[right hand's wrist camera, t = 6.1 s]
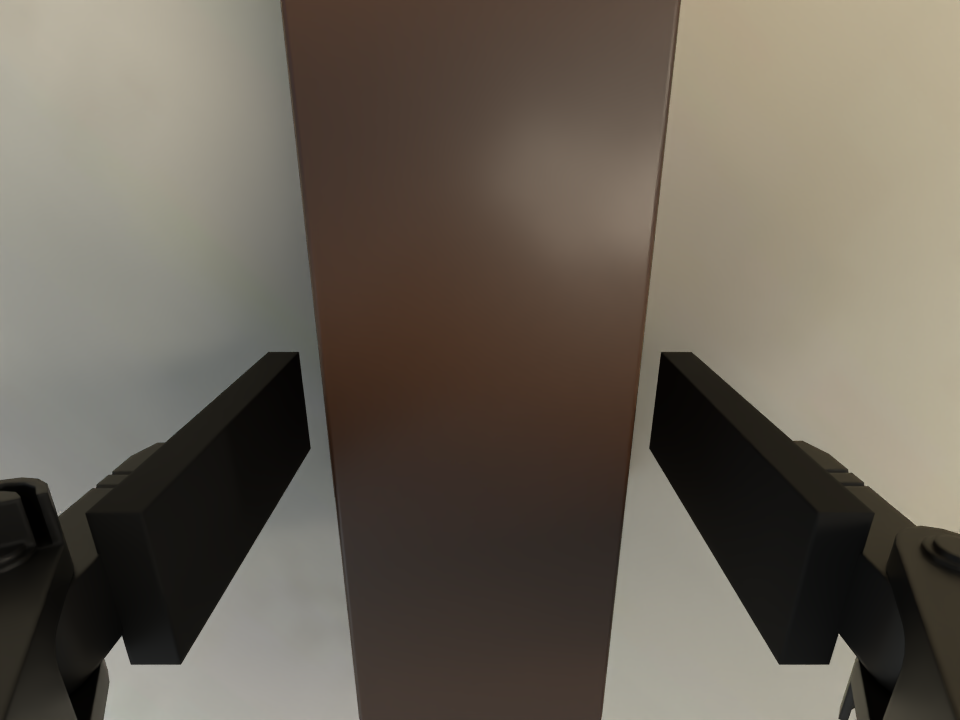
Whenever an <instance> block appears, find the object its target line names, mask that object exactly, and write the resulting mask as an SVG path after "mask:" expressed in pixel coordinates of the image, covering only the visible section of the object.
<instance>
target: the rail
mask: <svg viewBox="0 0 960 720" xmlns="http://www.w3.org/2000/svg"><path fill="white" fill-rule="evenodd" d="M280 2H281V11H282V21H283V30H284V39H285V48H286V57H287V66H288V75H289V84H290V94H291V103H292V112H293V121H294V130H295V139H296V148H297V157H298V166H299V176H300V185H301V194H302V203H303V212H304V221H305V230H306V239H307V249H308V258H309V267H310V276H311V285H312V294H313V303H314V312H315V322H316V331H317V340H318V349H319V358H320V367H321V376H322V385H323V394H324V404H325V413H326V422H327V431H328V440H329V449H330V458H331V467H332V477H333V486H334V495H335V501H336V510H337V519H338V528H339V537H340V547H341V556H342V565H343V574H344V583H345V592H346V601H347V611H348V620H349V629H350V638H351V647H352V656H353V665H354V675H355V684H356V693H357V702H358V711H359V718H360V720H601V718H602V710H603V701H604V692H605V683H606V674H607V665H608V656H609V647H610V638H611V629H612V620H613V611H614V602H615V593H616V584H617V575H618V566H619V556H620V547H621V538H622V529H623V520H624V511H625V502H626V493H627V484H628V475H629V466H630V457H631V448H632V439H633V430H634V421H635V412H636V403H637V394H638V384H639V375H640V366H641V357H642V348H643V339H644V330H645V321H646V312H647V303H648V294H649V285H650V276H651V267H652V258H653V249H654V240H655V231H656V222H657V212H658V203H659V194H660V185H661V176H662V167H663V158H664V149H665V140H666V131H667V122H668V113H669V104H670V95H671V86H672V77H673V68H674V59H675V50H676V40H677V31H678V22H679V13H680V4H681V0H280Z"/></svg>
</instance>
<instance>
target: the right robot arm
mask: <svg viewBox="0 0 960 720" xmlns="http://www.w3.org/2000/svg"><path fill="white" fill-rule="evenodd" d="M310 449H311V447H310V439H309V431H308V423H307V415H306V407H305V399H304V391H303V383H302V374H301V366H300V358H299V352H268V353H267V354H266V355H265V356H263V357H262V358H261V359H260V360H259V361H258V362H257V363H255V364H254V365H253V366H252V367H251V368H250V369H249V370H248V371H246V372H245V373H244V374H243V375H242V376H241V377H240V378H238V379H237V380H236V381H235V382H234V383H233V384H232V385H230V386H229V387H228V388H227V389H226V390H225V391H224V392H222V393H221V394H220V395H219V396H218V397H217V398H216V399H214V400H213V401H212V402H211V403H210V404H209V405H208V406H207V407H205V408H204V409H203V410H202V411H201V412H200V413H199V414H197V415H196V416H195V417H194V418H193V419H192V420H191V421H189V422H188V423H187V424H186V425H185V426H184V427H183V428H181V429H180V430H179V431H178V432H177V433H176V434H175V435H173V436H172V437H171V438H170V439H169V440H168V441H167V442H166V443H156V444H154V445H152V446H150V447H148V448H146V449H144V450H142V451H140V452H138V453H136V454H134V455H132V456H131V457H130V458H128V459H127V460H126V461H125V462H124V463H122V464H121V465H120V466H119V467H117V468H116V469H115V470H114V471H113V472H112V475H108V476H107V477H105V478H104V479H103V480H102V481H101V482H99V483H98V484H97V487H96V488H92V489H91V490H90V491H89V492H87V493H86V494H85V495H84V496H83V497H81V498H80V499H79V500H78V501H77V502H75V503H74V504H73V505H72V506H71V507H69V508H68V509H67V510H66V511H65V512H63V513H62V514H61V515H60V516H59V517H58V515H57V512H56V509H55V506H54V503H53V500H52V496H51V493H50V490H49V487H48V484H47V483H45V482H43V481H41V480H40V479H35V478H14V479H6V480H0V720H103V719H104V713H105V707H106V701H107V694H108V688H109V675H108V669H107V666H106V663H105V660H104V658H105V657H106V655H107V654H108V653H109V652H110V650H111V649H112V648H113V646H114V645H115V644H116V642H117V641H118V640H119V638H120V637H121V636H122V637H123V640H124V643H125V647H126V650H127V653H128V657H129V660H130V663H131V665H181V663H182V662H183V660H184V658H185V657H186V655H187V653H188V652H189V650H190V648H191V647H192V645H193V644H194V642H195V640H196V639H197V637H198V635H199V634H200V632H201V630H202V629H203V627H204V625H205V624H206V622H207V620H208V619H209V617H210V615H211V614H212V612H213V610H214V609H215V607H216V605H217V604H218V602H219V600H220V599H221V597H222V595H223V594H224V592H225V590H226V589H227V587H228V585H229V584H230V582H231V580H232V579H233V577H234V575H235V574H236V572H237V570H238V569H239V567H240V565H241V564H242V562H243V560H244V559H245V557H246V555H247V554H248V552H249V550H250V549H251V547H252V545H253V544H254V542H255V540H256V539H257V537H258V535H259V534H260V532H261V530H262V529H263V527H264V525H265V524H266V522H267V520H268V519H269V517H270V515H271V514H272V512H273V510H274V509H275V507H276V505H277V504H278V502H279V500H280V499H281V497H282V495H283V494H284V492H285V490H286V489H287V487H288V485H289V484H290V482H291V480H292V479H293V477H294V475H295V474H296V472H297V470H298V469H299V467H300V465H301V464H302V462H303V460H304V459H305V457H306V455H307V454H308V452H309V450H310ZM649 449H650V450H651V452H652V454H653V455H654V457H655V459H656V460H657V462H658V464H659V465H660V467H661V469H662V470H663V472H664V474H665V475H666V477H667V479H668V480H669V482H670V484H671V485H672V487H673V489H674V490H675V492H676V494H677V495H678V497H679V499H680V500H681V502H682V504H683V505H684V507H685V509H686V510H687V512H688V514H689V515H690V517H691V519H692V520H693V522H694V524H695V525H696V527H697V529H698V530H699V532H700V534H701V535H702V537H703V539H704V540H705V542H706V544H707V545H708V547H709V549H710V550H711V552H712V554H713V555H714V557H715V559H716V560H717V562H718V564H719V565H720V567H721V569H722V570H723V572H724V574H725V575H726V577H727V579H728V580H729V582H730V584H731V585H732V587H733V589H734V590H735V592H736V594H737V595H738V597H739V599H740V600H741V602H742V604H743V605H744V607H745V609H746V610H747V612H748V614H749V615H750V617H751V619H752V620H753V622H754V624H755V625H756V627H757V629H758V630H759V632H760V634H761V635H762V637H763V639H764V640H765V642H766V644H767V645H768V647H769V649H770V650H771V652H772V654H773V655H774V657H775V659H776V660H777V662H778V664H779V665H829V663H830V660H831V657H832V653H833V650H834V647H835V643H836V640H837V637H838V634H840V636H841V637H842V638H843V639H844V641H845V642H846V643H847V645H848V646H849V647H850V649H851V650H852V651H853V652H854V654H855V655H856V656H857V657H856V660H855V663H854V666H853V669H852V672H851V675H850V678H849V682H848V685H847V688H846V691H845V694H844V697H843V700H842V703H841V706H840V712H839V718H838V719H840V720H848V719H849V716H850V713H851V710H852V709H854V708H855V711H856V717H857V720H960V534H958V533H954V532H951V531H948V530H945V529H940V528H933V527H926V526H916V525H915V524H913V523H912V522H911V521H910V520H909V519H907V518H906V517H905V516H904V515H902V514H901V513H900V512H899V511H898V510H896V509H895V508H894V507H893V506H892V505H890V504H889V503H888V502H887V501H885V500H884V499H883V498H882V497H881V496H879V495H878V494H877V493H876V492H875V491H873V490H872V489H871V488H870V487H868V486H864V482H862V481H861V480H860V479H859V478H858V477H856V476H855V475H854V474H853V473H848V469H847V468H845V467H844V466H843V465H842V464H841V463H839V462H838V461H837V460H836V459H835V458H833V457H832V456H831V455H830V454H828V453H826V452H824V451H822V450H820V449H818V448H816V447H814V446H812V445H810V444H808V443H806V442H804V441H792V440H791V439H790V438H789V437H788V436H786V435H785V434H784V433H783V432H782V431H781V430H780V429H779V428H777V427H776V426H775V425H774V424H773V423H772V422H771V421H769V420H768V419H767V418H766V417H765V416H764V415H763V414H761V413H760V412H759V411H758V410H757V409H756V408H755V407H753V406H752V405H751V404H750V403H749V402H748V401H747V400H746V399H744V398H743V397H742V396H741V395H740V394H739V393H738V392H736V391H735V390H734V389H733V388H732V387H731V386H730V385H728V384H727V383H726V382H725V381H724V380H723V379H722V378H720V377H719V376H718V375H717V374H716V373H715V372H714V371H712V370H711V369H710V368H709V367H708V366H707V365H706V364H705V363H703V362H702V361H701V360H700V359H699V358H698V357H697V356H695V355H694V354H693V353H692V352H661V358H660V366H659V374H658V382H657V391H656V399H655V407H654V415H653V423H652V431H651V439H650V447H649Z"/></svg>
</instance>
